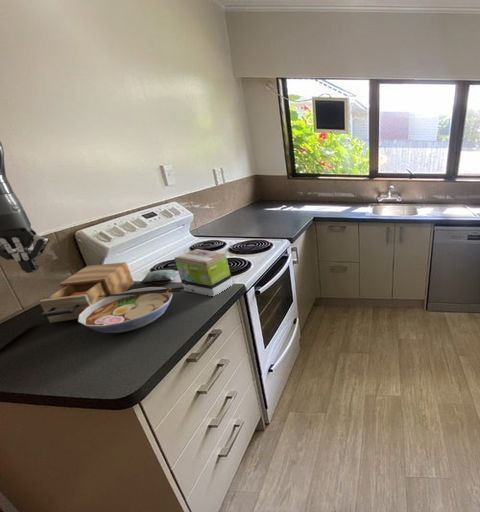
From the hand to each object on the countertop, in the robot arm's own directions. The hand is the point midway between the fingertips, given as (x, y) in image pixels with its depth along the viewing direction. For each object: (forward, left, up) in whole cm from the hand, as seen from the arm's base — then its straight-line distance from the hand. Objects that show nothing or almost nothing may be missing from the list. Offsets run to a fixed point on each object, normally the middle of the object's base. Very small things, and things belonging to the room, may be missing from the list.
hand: (32, 271), depth 81 cm
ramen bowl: (+20, -2, -21) cm, 29 cm away
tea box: (+37, +17, -21) cm, 45 cm away
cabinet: (0, +24, -21) cm, 31 cm away
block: (0, +12, -19) cm, 22 cm away
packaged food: (+17, +30, -21) cm, 40 cm away
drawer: (0, +10, -20) cm, 22 cm away
